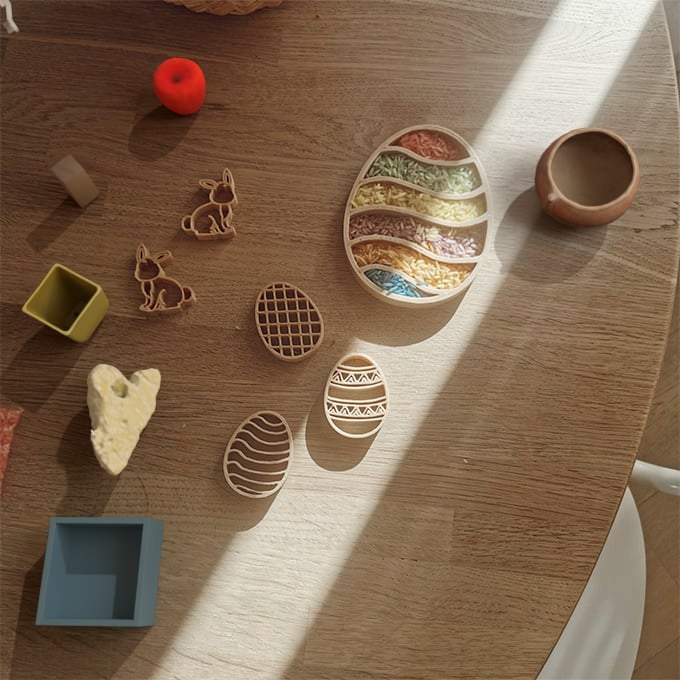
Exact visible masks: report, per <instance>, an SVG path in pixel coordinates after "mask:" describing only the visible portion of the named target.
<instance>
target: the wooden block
mask: <svg viewBox="0 0 680 680" xmlns="http://www.w3.org/2000/svg"><path fill="white" fill-rule="evenodd" d="M50 171H51V173H52V174H53V175H54V177H55V178H56V179H57V181H58V182H59V183H60V185H61V186H62V188H64V190H65V191H66V192H67V194H68V195H69V196H70V197H71V198H72V199H73V201H74V202H75V203H76V204H77V205H78V206H80V208H84V207H86V206H87V205H88V204H90V203H92V201H94V200H95V199H97V198H98V197H99V196H100V195H101V193H100V190H99V189H98V188H97V187H96V185H95V183H94V182H93V180H92V179H91V177H90V176H89V175H88V173H87V172H86V170H85V169H84V167H83V166H82V165H81V164H80V163H79V162H78V161H77V160H76V159H75V158H74V157H73V156H72V155H71V154H68V155H65V157H63V158H62V159H61V160H59V161H58V162H57V163H55V164H54V165H52V166H51V167H50Z"/></svg>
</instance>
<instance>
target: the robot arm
mask: <svg viewBox="0 0 680 680" xmlns="http://www.w3.org/2000/svg"><path fill="white" fill-rule="evenodd" d="M0 8H1V9H5V12H6V21H4V22H2V25H3V26H4V28H5V29H6V31H7V33H8V34H9V36H10V37H11V36H13V35H15V34H17V33H19V32H20V29H19V28H18V26H17V25H16V23H15V22H14V20H13V12H12V11H13V9H12V3H11V1H10V0H0Z"/></svg>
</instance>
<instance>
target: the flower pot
mask: <svg viewBox="0 0 680 680" xmlns="http://www.w3.org/2000/svg"><path fill="white" fill-rule="evenodd" d="M109 305H110V303H109V300H108V297H107V296H106V294H105V292H104V290H103V288H102V287H101V286H100V285H99V284H97V283H96V282H94V281H91V280H89V279H88V278H86V277H84V276H82V275H80V274H79V273H76V272H74V271H73V270H71V269H70V268H68V267H66V266H64V265H63V264H60V263H54V264H53V265H52V266H51V268H50V269H49V271H48V273H47V274H46V276H45V277H44V278H43V280H42V281H41V283H40V284H39V285H38V287H36V289H35V290H34V292H33V293H32V294H31V295H30V296H29V298H28V299H27V301H26V302H25V303H24V304H23V306H22V308H21V311H22V312H23V313H24V314H27V315H28V316H30V317H32V318H33V319H35V320H37V321H39V322H41V323H42V324H45V325H46V326H47V327H49V328H51V329H53V330H55V331H57V332H58V333H59V334H61V335H63V336H65V337H67V338H69V339H71V340H72V341H75V342H77V343H84V342H86V341H87V340H89V339H90V338H91V336H93V334H94V332H95V330H96V329H97V328H98V326H99V325H100V323H101V322H102V320H103V319H104V318H105V316H106V315H107V313H108V311H109ZM76 314H77V315H76Z"/></svg>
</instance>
